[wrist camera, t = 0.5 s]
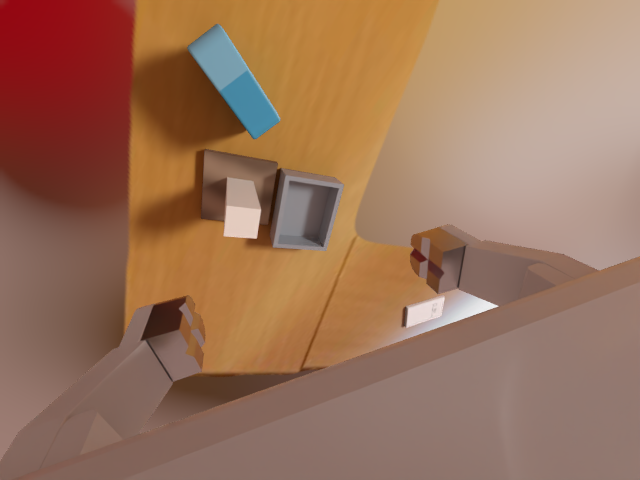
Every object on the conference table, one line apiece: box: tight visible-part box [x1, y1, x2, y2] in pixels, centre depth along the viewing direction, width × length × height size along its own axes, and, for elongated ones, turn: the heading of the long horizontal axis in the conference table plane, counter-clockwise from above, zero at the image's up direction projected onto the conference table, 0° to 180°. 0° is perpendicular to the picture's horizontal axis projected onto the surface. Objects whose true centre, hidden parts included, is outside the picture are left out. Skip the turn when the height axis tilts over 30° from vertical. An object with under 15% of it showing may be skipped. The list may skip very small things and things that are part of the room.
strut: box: [224, 177, 261, 239], centre depth 42 cm, size 4×4×14 cm
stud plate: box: [201, 149, 278, 225], centre depth 48 cm, size 12×12×4 cm
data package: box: [187, 24, 280, 139], centre depth 37 cm, size 12×4×12 cm, turn 32°
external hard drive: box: [404, 295, 445, 328], centre depth 82 cm, size 2×8×12 cm
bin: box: [270, 168, 344, 251], centre depth 52 cm, size 14×11×5 cm
